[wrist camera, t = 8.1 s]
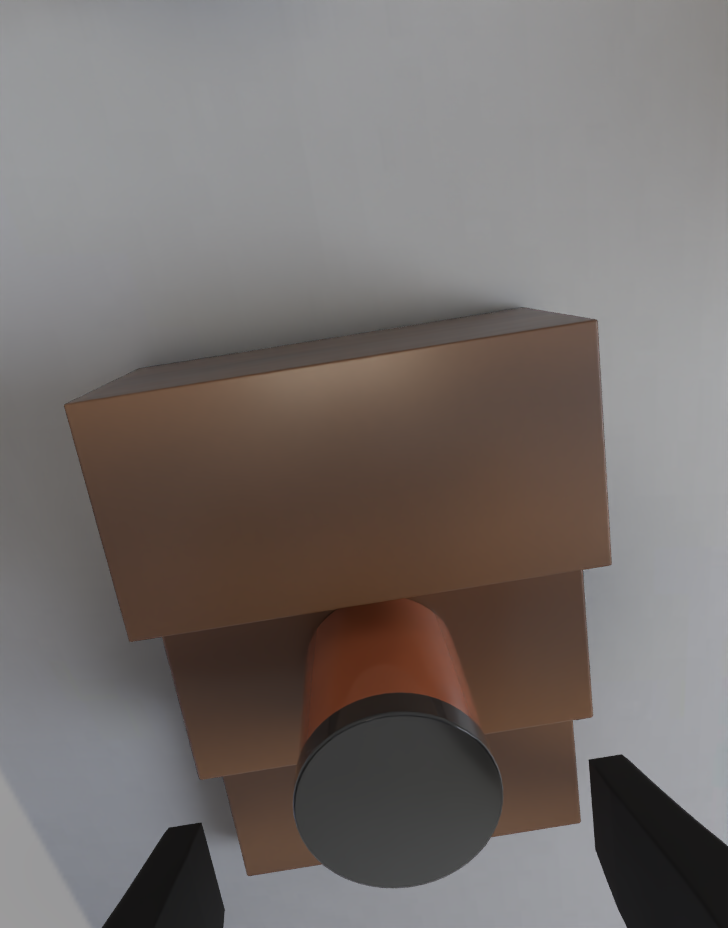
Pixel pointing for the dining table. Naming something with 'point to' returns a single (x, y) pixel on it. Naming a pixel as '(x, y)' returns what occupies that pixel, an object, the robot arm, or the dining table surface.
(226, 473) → the spice shelf
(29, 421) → the dining table surface
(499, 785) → the spice jar
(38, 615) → the dining table surface
